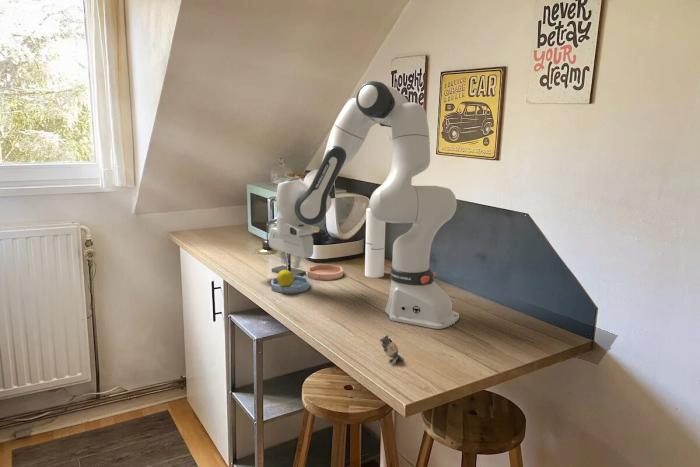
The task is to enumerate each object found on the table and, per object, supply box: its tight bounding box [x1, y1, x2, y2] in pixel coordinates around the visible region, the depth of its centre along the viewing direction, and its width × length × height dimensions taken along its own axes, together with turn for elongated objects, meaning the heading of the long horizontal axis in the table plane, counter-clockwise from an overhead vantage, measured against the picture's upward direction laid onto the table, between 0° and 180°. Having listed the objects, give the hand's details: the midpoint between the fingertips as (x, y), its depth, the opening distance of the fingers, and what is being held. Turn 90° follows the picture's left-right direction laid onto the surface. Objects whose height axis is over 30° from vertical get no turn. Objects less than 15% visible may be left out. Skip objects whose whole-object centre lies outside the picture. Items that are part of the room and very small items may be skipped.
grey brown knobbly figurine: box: [379, 334, 404, 366], centre depth 135 cm, size 5×5×6 cm
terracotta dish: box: [306, 263, 344, 281], centre depth 203 cm, size 13×13×2 cm
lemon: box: [276, 270, 294, 287], centre depth 183 cm, size 6×6×8 cm
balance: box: [254, 217, 320, 277], centre depth 202 cm, size 31×12×25 cm, turn 143°
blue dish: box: [270, 276, 310, 295], centre depth 188 cm, size 13×13×2 cm
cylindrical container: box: [364, 207, 387, 279], centre depth 202 cm, size 7×7×25 cm
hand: (290, 265), depth 187 cm, fingers open, 5 cm apart
